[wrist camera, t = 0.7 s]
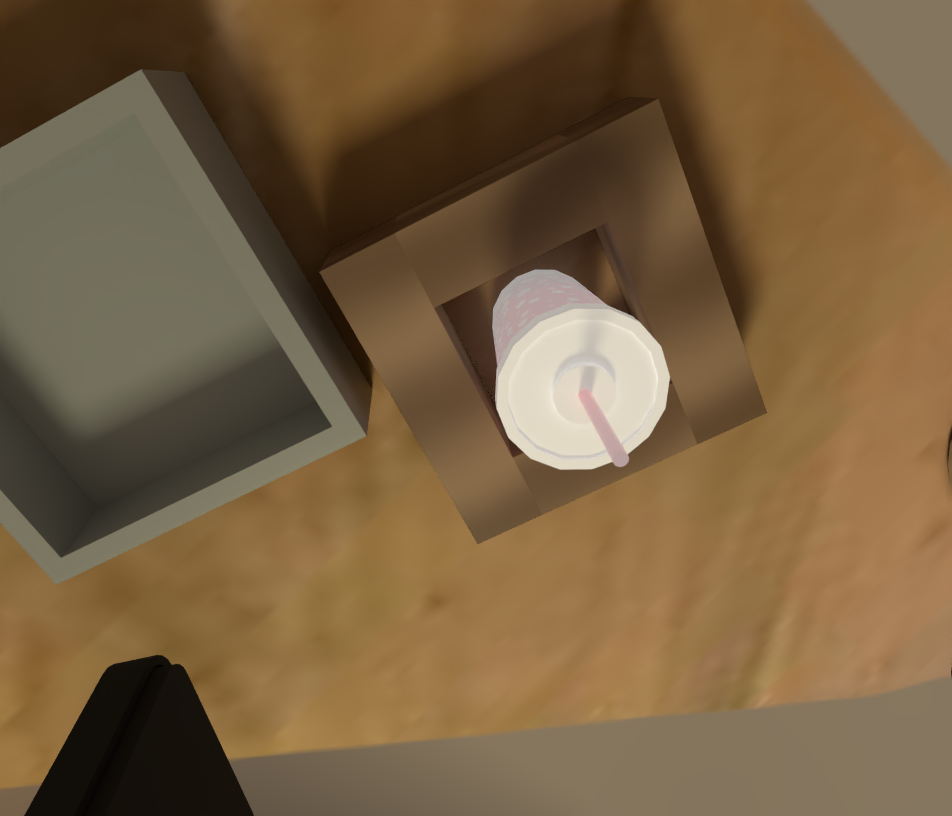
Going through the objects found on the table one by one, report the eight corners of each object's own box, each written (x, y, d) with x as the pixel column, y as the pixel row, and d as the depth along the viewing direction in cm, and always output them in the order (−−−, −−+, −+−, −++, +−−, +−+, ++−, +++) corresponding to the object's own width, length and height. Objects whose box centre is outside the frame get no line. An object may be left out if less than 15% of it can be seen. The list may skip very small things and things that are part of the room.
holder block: (730, 379, 36) (766, 412, 32) (471, 499, 37) (477, 544, 34) (628, 97, 30) (658, 98, 27) (329, 250, 32) (319, 272, 28)
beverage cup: (613, 368, 35) (729, 529, 22) (486, 391, 35) (530, 566, 22) (601, 240, 33) (723, 339, 20) (464, 265, 33) (499, 381, 20)
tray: (372, 389, 35) (366, 435, 30) (101, 521, 36) (56, 584, 32) (183, 71, 29) (140, 69, 24) (-130, 246, 30) (-226, 274, 26)
